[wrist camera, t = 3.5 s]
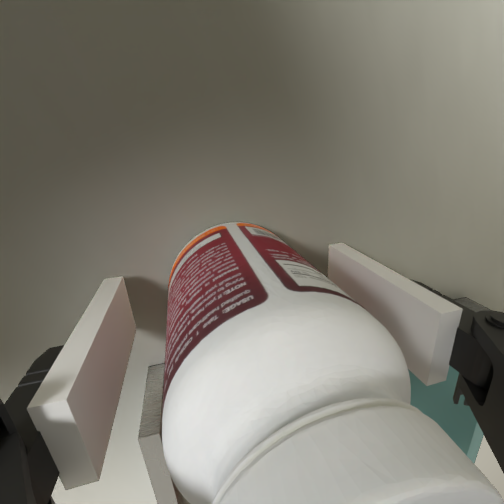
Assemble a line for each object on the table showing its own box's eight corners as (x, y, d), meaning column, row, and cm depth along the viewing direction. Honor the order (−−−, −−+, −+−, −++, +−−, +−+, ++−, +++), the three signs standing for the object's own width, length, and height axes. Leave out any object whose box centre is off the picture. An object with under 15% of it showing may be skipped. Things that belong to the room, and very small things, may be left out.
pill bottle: (184, 344, 15) (196, 776, 4) (154, 232, 12) (41, 597, 2) (295, 315, 16) (504, 607, 6) (286, 208, 13) (607, 374, 3)
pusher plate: (392, 441, 22) (447, 516, 17) (411, 325, 18) (488, 383, 14) (456, 420, 23) (524, 485, 19) (487, 307, 19) (582, 355, 15)
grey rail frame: (187, 520, 19) (189, 607, 16) (148, 366, 14) (137, 439, 11) (432, 438, 23) (479, 491, 20) (465, 297, 19) (536, 332, 15)
